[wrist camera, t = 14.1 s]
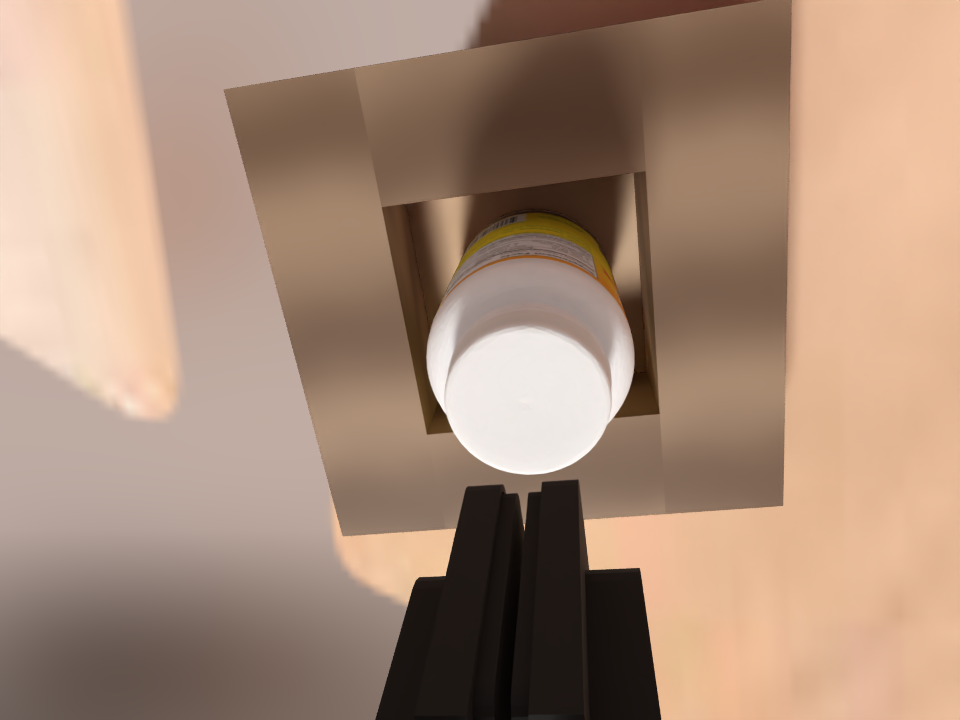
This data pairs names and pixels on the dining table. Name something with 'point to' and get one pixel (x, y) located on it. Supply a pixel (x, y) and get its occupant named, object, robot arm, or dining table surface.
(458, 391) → the supplement bottle
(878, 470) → the dining table surface
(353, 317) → the square bottle holder
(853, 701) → the dining table surface
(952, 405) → the dining table surface
